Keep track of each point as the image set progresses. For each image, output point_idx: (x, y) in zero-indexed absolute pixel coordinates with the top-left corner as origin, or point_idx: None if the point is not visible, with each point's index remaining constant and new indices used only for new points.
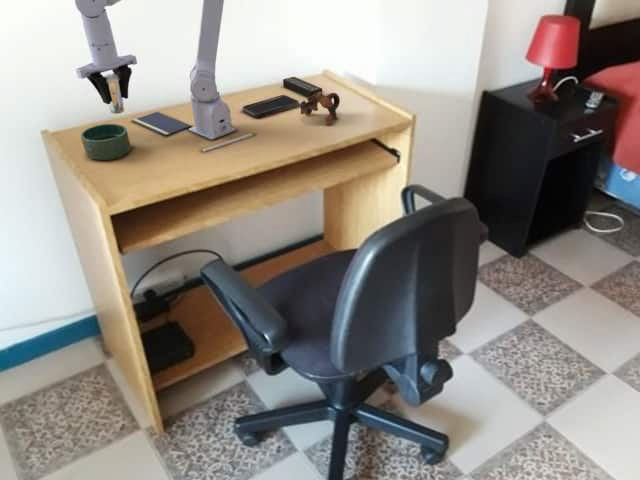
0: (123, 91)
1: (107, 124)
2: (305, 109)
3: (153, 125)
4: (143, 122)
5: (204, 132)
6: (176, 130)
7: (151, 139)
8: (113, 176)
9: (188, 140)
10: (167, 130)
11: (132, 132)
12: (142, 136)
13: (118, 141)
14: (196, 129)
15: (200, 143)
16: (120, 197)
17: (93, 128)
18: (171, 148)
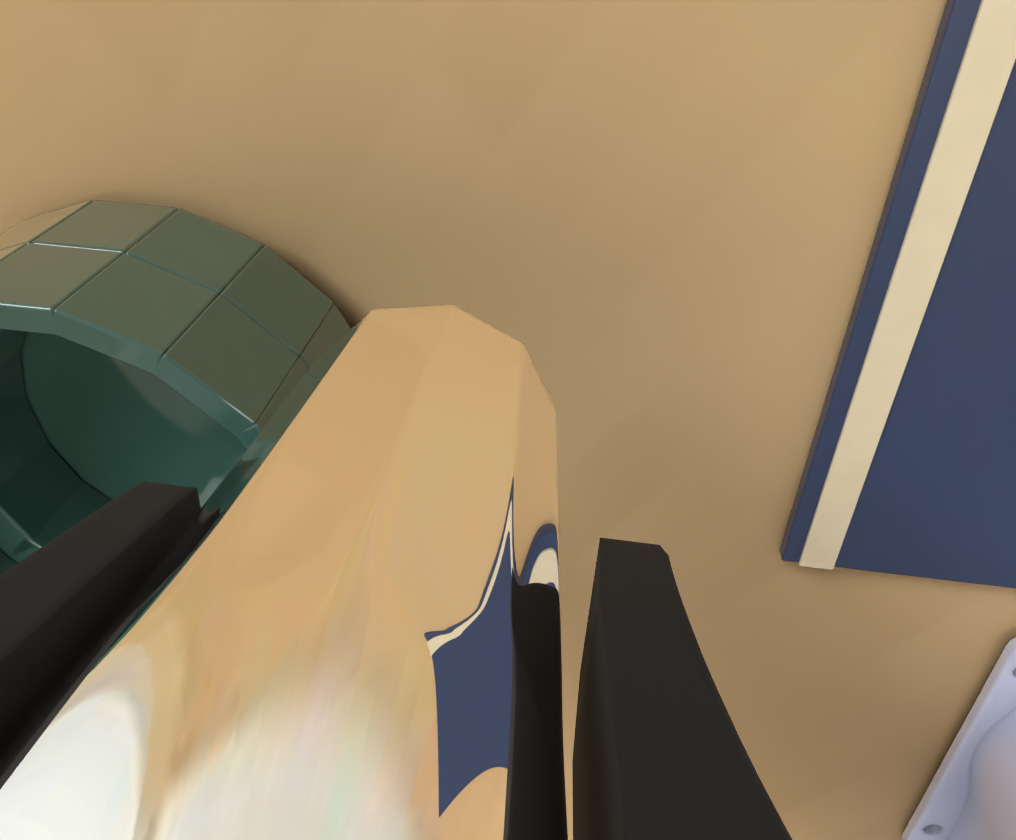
0: (582, 782)
1: (204, 404)
2: None
3: (963, 275)
4: (998, 79)
5: (973, 796)
6: (939, 571)
7: (648, 490)
8: None
9: (811, 723)
10: (898, 503)
11: (672, 179)
12: (651, 368)
13: None
14: (1009, 728)
15: (808, 804)
16: None
17: (12, 320)
18: None
